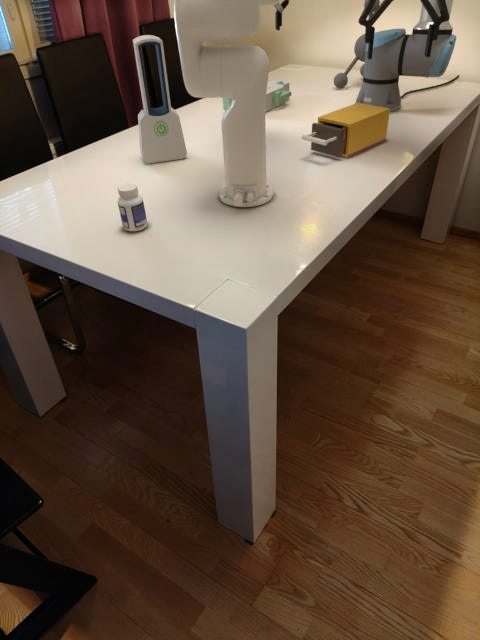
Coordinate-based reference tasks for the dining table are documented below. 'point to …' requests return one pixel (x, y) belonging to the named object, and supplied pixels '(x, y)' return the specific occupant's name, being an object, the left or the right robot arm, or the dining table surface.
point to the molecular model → (359, 50)
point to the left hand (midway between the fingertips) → (259, 31)
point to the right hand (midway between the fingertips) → (398, 57)
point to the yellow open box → (360, 126)
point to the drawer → (328, 138)
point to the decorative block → (270, 95)
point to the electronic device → (157, 113)
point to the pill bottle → (131, 208)
